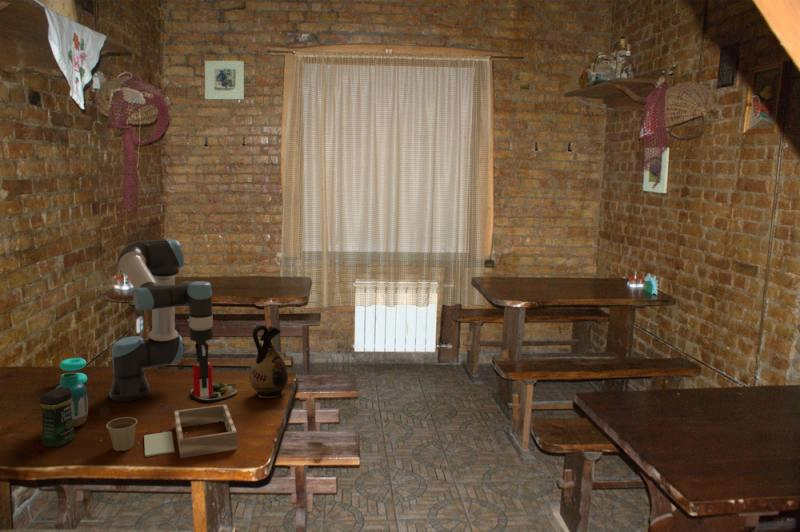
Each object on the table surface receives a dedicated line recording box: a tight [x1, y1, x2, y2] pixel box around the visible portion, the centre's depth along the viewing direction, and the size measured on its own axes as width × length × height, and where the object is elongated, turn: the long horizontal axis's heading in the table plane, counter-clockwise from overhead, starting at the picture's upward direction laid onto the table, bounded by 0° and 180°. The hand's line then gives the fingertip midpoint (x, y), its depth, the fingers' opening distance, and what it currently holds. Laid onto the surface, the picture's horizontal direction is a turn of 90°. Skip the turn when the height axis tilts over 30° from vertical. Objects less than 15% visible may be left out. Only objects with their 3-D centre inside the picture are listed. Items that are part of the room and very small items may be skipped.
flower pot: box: [105, 416, 138, 452], centre depth 206 cm, size 9×9×9 cm
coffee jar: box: [39, 387, 76, 448], centre depth 208 cm, size 10×8×19 cm
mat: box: [143, 431, 176, 458], centre depth 209 cm, size 16×9×1 cm, turn 23°
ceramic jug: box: [249, 324, 289, 399], centre depth 252 cm, size 17×15×30 cm
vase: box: [55, 372, 89, 428], centre depth 221 cm, size 11×11×19 cm
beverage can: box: [192, 361, 214, 399], centre depth 211 cm, size 6×6×12 cm
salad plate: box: [189, 382, 238, 403], centre depth 256 cm, size 19×18×5 cm
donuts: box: [59, 357, 88, 384], centre depth 264 cm, size 10×10×10 cm
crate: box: [174, 403, 238, 459], centre depth 214 cm, size 26×18×6 cm
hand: (203, 392), depth 212 cm, fingers closed on beverage can, 6 cm apart
